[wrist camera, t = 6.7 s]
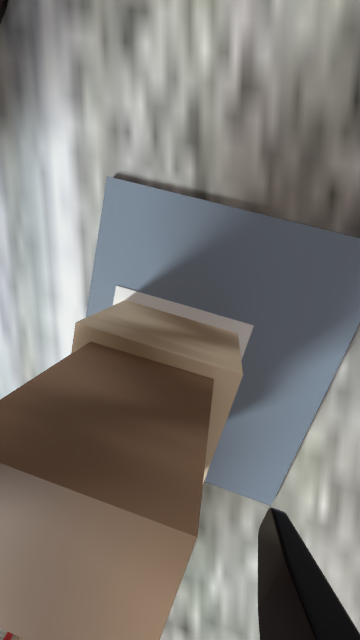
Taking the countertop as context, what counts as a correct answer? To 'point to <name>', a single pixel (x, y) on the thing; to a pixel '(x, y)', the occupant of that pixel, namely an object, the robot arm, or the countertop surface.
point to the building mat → (239, 310)
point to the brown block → (99, 495)
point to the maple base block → (172, 351)
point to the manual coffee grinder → (2, 8)
